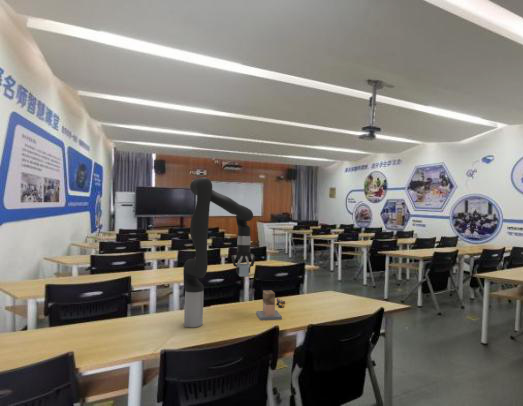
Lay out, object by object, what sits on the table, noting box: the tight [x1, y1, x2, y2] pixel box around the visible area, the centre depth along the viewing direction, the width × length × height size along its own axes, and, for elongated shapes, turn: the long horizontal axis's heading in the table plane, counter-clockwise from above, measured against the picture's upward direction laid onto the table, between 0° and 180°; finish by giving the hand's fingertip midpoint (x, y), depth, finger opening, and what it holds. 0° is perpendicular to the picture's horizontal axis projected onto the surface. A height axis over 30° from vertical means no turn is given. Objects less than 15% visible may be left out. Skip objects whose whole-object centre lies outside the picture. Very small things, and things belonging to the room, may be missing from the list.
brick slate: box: [237, 263, 250, 278], centre depth 188 cm, size 5×8×6 cm, turn 11°
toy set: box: [275, 297, 286, 309], centre depth 207 cm, size 12×11×5 cm
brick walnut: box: [262, 289, 276, 306], centre depth 185 cm, size 5×8×6 cm, turn 12°
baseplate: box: [255, 301, 283, 321], centre depth 184 cm, size 12×12×8 cm
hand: (243, 273), depth 188 cm, fingers closed on brick slate, 5 cm apart
